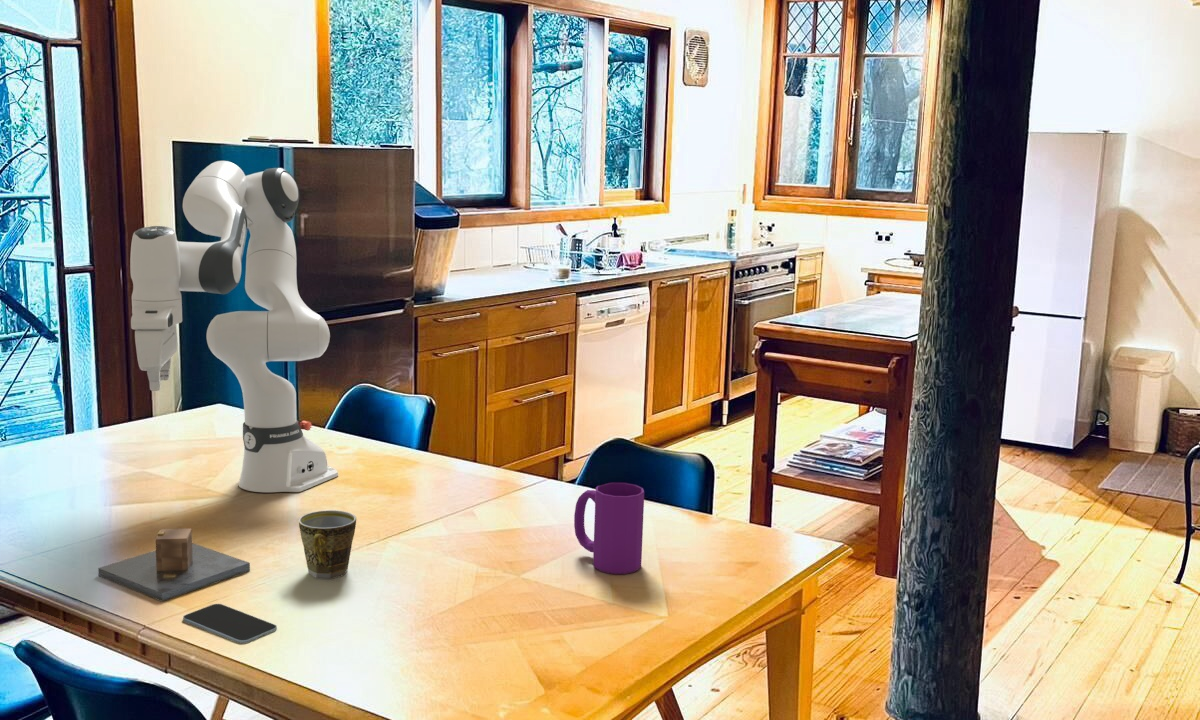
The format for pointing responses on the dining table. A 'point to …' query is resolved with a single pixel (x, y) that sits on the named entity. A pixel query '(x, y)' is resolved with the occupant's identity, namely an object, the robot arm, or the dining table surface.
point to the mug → (613, 527)
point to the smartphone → (229, 623)
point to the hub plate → (173, 573)
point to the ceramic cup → (327, 542)
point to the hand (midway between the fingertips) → (160, 384)
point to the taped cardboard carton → (173, 549)
